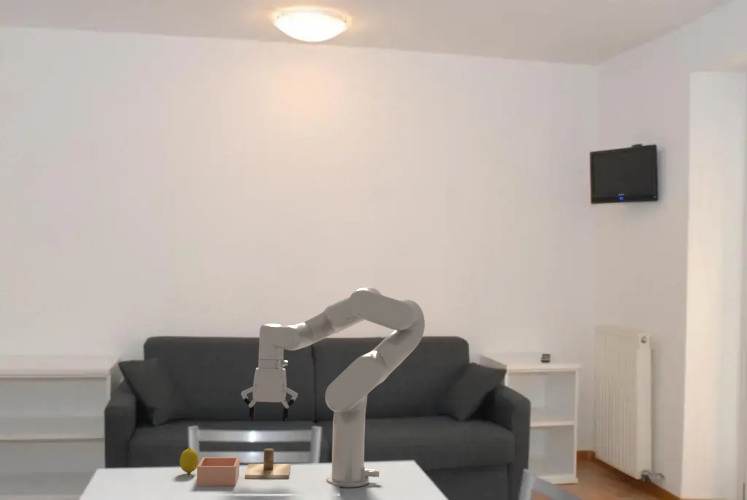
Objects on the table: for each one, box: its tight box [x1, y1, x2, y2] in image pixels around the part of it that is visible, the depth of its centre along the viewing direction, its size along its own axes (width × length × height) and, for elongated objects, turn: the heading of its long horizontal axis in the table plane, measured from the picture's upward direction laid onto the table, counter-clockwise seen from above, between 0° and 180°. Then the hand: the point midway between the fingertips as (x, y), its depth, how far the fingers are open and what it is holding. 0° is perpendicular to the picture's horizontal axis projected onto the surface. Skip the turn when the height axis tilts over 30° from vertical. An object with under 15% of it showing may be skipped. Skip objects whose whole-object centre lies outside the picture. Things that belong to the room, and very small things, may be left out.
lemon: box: [179, 447, 199, 475], centre depth 242 cm, size 6×6×8 cm
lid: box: [244, 448, 291, 479], centre depth 244 cm, size 13×13×7 cm
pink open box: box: [196, 456, 241, 487], centre depth 234 cm, size 11×11×6 cm
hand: (268, 420), depth 244 cm, fingers open, 9 cm apart
